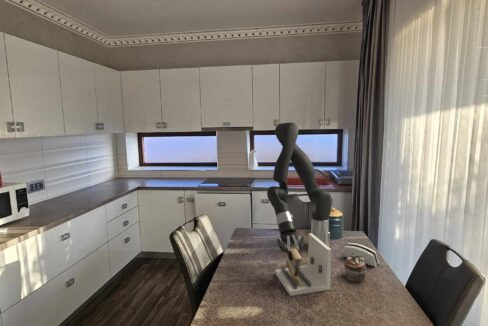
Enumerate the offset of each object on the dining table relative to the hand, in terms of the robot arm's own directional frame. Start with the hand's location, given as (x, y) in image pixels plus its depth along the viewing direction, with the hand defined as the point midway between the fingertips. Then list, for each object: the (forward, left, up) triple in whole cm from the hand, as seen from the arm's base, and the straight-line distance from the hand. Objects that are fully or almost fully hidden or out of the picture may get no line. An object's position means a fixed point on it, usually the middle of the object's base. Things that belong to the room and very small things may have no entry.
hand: (295, 259), depth 128 cm
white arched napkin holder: (-40, -10, -11) cm, 43 cm away
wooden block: (0, -3, -6) cm, 7 cm away
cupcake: (-28, +3, -11) cm, 30 cm away
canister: (-43, -43, -11) cm, 62 cm away
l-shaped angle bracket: (-3, 0, -11) cm, 11 cm away
